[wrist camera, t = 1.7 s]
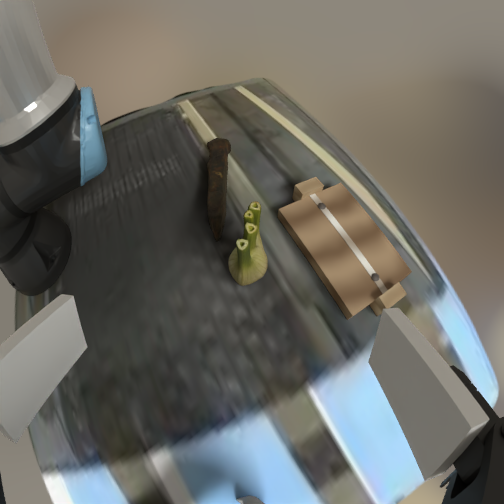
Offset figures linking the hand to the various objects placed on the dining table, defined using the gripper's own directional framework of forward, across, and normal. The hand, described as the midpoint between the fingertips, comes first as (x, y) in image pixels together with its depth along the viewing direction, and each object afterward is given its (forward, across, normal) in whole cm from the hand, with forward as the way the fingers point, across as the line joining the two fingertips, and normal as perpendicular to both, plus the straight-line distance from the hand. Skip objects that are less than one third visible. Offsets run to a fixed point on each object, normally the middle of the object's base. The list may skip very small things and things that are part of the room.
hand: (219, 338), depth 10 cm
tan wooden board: (+29, +14, -4) cm, 32 cm away
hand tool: (+36, -4, +3) cm, 36 cm away
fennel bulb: (+26, +1, -7) cm, 27 cm away
